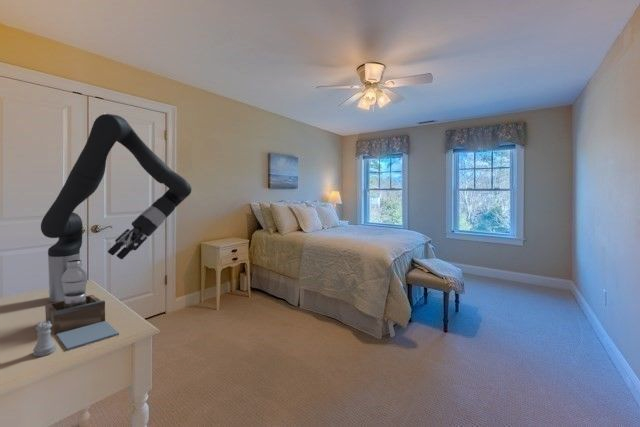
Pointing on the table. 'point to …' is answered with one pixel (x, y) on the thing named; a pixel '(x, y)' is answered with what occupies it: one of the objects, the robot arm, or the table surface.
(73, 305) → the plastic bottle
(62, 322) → the holder
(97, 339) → the mat
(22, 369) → the table surface
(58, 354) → the table surface
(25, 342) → the table surface
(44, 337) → the rook chess piece
